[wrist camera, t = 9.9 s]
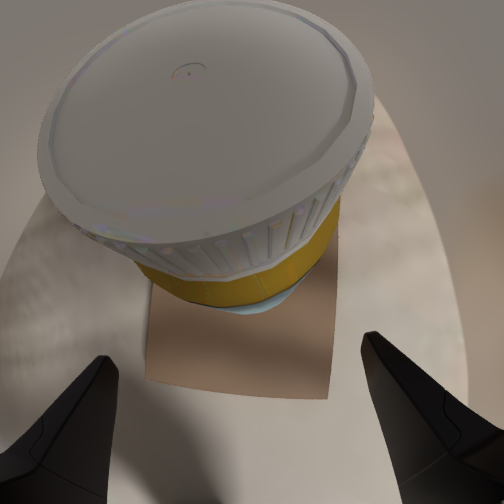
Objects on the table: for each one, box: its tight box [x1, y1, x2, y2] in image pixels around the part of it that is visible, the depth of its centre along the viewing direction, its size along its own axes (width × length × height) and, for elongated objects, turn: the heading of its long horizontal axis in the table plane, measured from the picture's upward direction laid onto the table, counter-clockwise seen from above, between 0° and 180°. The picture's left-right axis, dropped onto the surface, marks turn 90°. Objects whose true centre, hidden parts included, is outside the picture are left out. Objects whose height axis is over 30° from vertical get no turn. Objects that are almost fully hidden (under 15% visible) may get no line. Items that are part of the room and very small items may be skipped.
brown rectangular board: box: [145, 222, 338, 399], centre depth 19 cm, size 18×12×2 cm, turn 175°
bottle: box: [37, 0, 374, 315], centre depth 11 cm, size 7×7×15 cm
